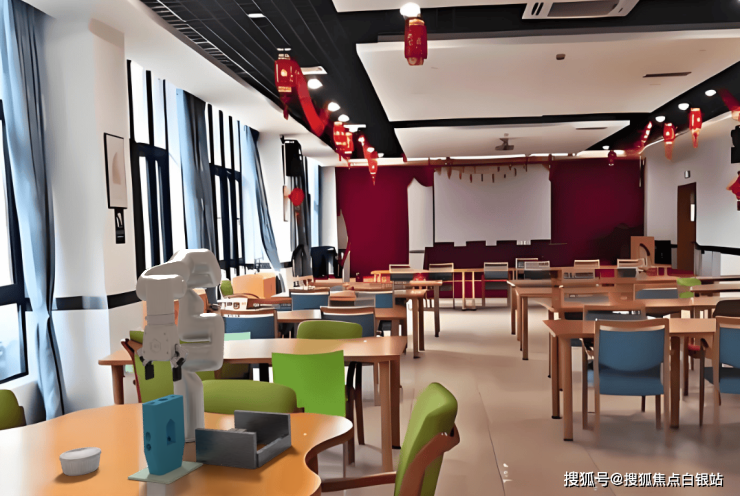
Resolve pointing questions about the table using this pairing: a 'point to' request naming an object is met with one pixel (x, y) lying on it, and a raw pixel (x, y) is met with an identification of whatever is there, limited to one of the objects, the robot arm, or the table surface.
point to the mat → (168, 477)
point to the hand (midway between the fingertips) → (163, 379)
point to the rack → (245, 440)
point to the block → (163, 433)
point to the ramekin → (80, 461)
